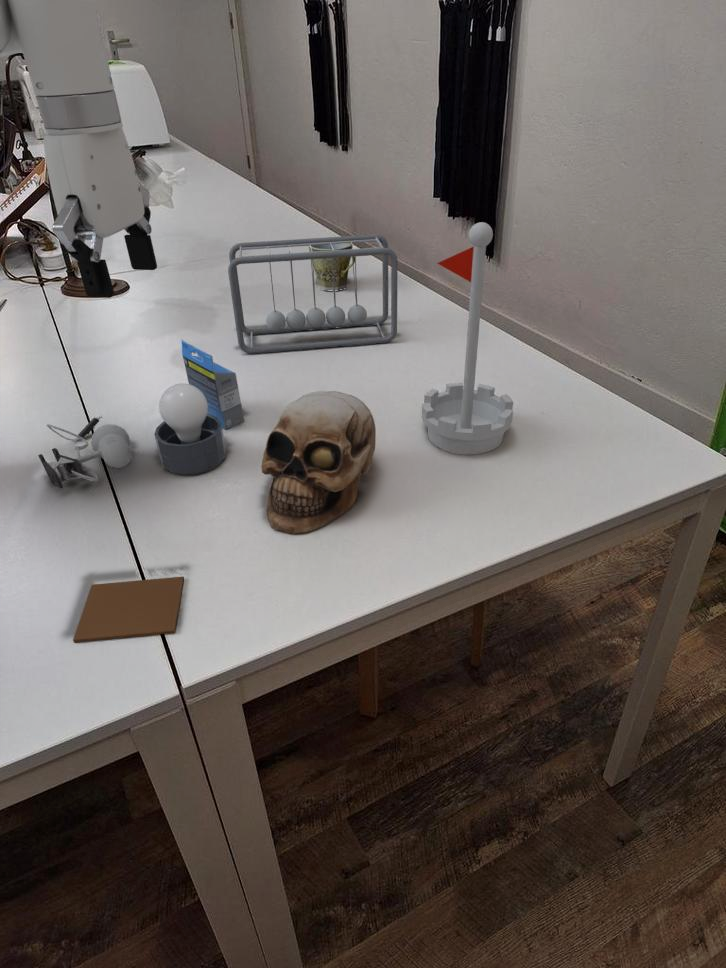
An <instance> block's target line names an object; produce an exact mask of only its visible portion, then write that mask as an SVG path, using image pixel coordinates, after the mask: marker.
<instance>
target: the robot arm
mask: <svg viewBox="0 0 726 968" xmlns="http://www.w3.org/2000/svg"><path fill="white" fill-rule="evenodd" d="M100 24H101V23H100V20H99V15H98V11H97V6H96V2H95V0H0V58H2V57H8V56H11V55H16V54H19V53H22V54H23V58H24V62H25V65H26V69H27V72H28V75H29V76H28V77H29V79H30V83H31V87H32V90H33V92H34V96H35V100H36V104H37V106H38V110H39V114H40V117H41V120H42V124H43V127H44V132H45V134H44V135H43V149H44V156H45V157H44V158H45V163H46V169H47V175H48V180H49V184H50V185H49V186H50V189H51V193H52V198H53V200H54V206H55V210H56V213H57V215H56V218H55V220H54V221H53V223H52V227H51V228H52V229H51V230H52V232H53V233H54V235H55V236H56V238H57V239H58V241H59V242H60V244H61V245H62V248H63V251H64V252H66V253H67V254H69V256H70V258H71V260H72V261H73V262H75V263H76V264H77V268H78V271H79V275H80V279H81V281H82V285H83V288H84V292H85V294H86V296H88V297H89V298H101V299H103V298H104V299H107V298H108V299H110V298H112V297H114V296H115V290H114V287H113V283H112V279H111V275H110V271H109V268H108V264H107V261H106V259H101V257H102V252H103V251H102V249H103V245H104V239H106V238H108V237H111V236H113V235H115V234H118V233H119V232H121V231H123V230H124V231H125V232H126V233H127V234H124V235H123V238H124V243H125V246H126V250H127V253H128V257H129V263H130V266H131V269H132V270H136V271H155V270H157V269H158V264H157V258H156V254H155V249H154V245H153V242H152V237H151V236H152V235H151V234H152V232H153V231H152V225H151V223H150V220H151V215H152V214H151V212H152V211H151V209H150V190H149V189H148V188H147V187H145V186H143V185H141V184H140V181H139V176H138V173H137V169H136V165H135V162H134V158H133V156H132V153H131V149H130V146H129V143H128V140H127V137H126V134H125V131H124V129H123V127H124V126H123V121H122V117H121V111H120V107H119V103H118V99H117V95H116V91H115V85H114V81H113V77H112V73H111V68H110V64H109V59H108V54H107V51H106V47H105V42H104V38H103V33H102V29H101V25H100ZM85 241H90V246H89V245H87V244H86V243H85Z"/></svg>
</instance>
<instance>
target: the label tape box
mask: <svg viewBox="0 0 726 968" xmlns="http://www.w3.org/2000/svg"><path fill="white" fill-rule="evenodd" d="M180 342H181V355H182V359H183V363H184V368H185V373H186V376H187V381H188V384H190V385H193V386H195V387H197V388H198V389H199V390H200V391H201V392H202V393H203V394H204V396H205V397H206V400H207V403H208V413H207V414H210V415H212V416H215V417H217V418H218V419H219V421H220V422H221V423H222V429H224V430H228V429H230V428H232V427H235V426H237V425H239V424H241V423H242V422H244V421H245V417H244V411H243V407H242V401H241V396H240V390H239V385H238V379H237V374H236V372H234V371H232V370H230V369H228V368H226V367H224V366H223V365H220V364H218V363H216V362H214V359H213V355H211V354H209V353H207V352H205V351H204V350H202V349H200V348H199V347H196V346H194V345H193V344H191V343H189V342H187V341H186V340H183V339H182V338H181V341H180ZM193 354H194V355H193Z"/></svg>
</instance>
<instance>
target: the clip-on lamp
mask: <svg viewBox="0 0 726 968" xmlns="http://www.w3.org/2000/svg"><path fill="white" fill-rule="evenodd" d="M100 419H103V415H99V416H96V417H93V418H92V419H91V420H90V421H89V422H88V424H86V425H85V426H84V428H83V429H82V430H80V432H78V434H76V433H74V432H72V431H69V430H66V429H64V428H61V427H59V426H56V425H53V424H49V423H47V424H46V427H47V428H48V429H49V430H51V431H52V432H53V433H55V434H56V435H58V436H59V437H61V438H63V439H65V440H67V441H72V442H76V441H79V440H81V441H83V442H85V444H83V445H79V446H78V445H75V446H74V449H75V450H76V452H77V455H78V456H77V457H74V458H73V457H69V456H66V455H63V454H60V451H59V450H58V448H57V447H53V448H51V452H52V454H53V456H54V459H55V462H48V461H46V459H45V457H44V455H43V454H42V453H40V454H37V456H38V458H39V461H40V463H41V464H42V467H43V468H44V471H45V473H46V475H47V477H48V479H49V482H50V483H51V484H53V485H56V486H57V488H58V489H59V490H61V489H63V488H64V486H63V485H64V484H65V483H66V482H67V481H69V480H70V481H71V480H77V479H83V480H87V481H91V482H98V480H99V476H98V475H97V474H96V473H95V472H94V471H93V470H91V469H90V468H85V469H84V468H83V463H86V462H89V461H91V460H94V459H98V458H100V459H102V460H104V462H105V463H106V465H108V466H109V467H111V468H116V469H120V468H124V467H126V466H127V465H128V464H129V463H130V461H131V460H132V456H133V453H132V450H131V448H130V446H131V440H130V435H129V434H128V432H127V431H126V430H125V429H124V428H123V427H122V426H120V425H117V424H115V423H114V424H112V423H107V424H103V425H101V426H99V427H98V428H96V429H95V427H96V425H98V423H99V422H100ZM93 429H95V430H94V432H93V434H92V436H91V440H90V444H91V448H92V450H93V451H91V452H88V453H86V454H82V455H81V452H80V451H81V450H84V449H86V448H88V446H89V442H88V441H87V439H85V437H86V436H88V435H90V433H91V431H93ZM56 430H58V431H61V432H64V433H66V434H69V435H71V436H73V437H76V438H69V437H66V436H64V435H62V434H60V432H57V431H56ZM56 470H57V471H58V473H59V475H58V473H57V471H56ZM87 473H88V474H90V475H91V476H88V475H86V474H87ZM59 476H60V477H59Z"/></svg>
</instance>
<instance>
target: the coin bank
mask: <svg viewBox="0 0 726 968" xmlns="http://www.w3.org/2000/svg"><path fill="white" fill-rule="evenodd" d="M376 431H377V430H376V423H375V419H374V416H373V414H372V412H371V410H370V408H369V407H368V406H367V405H366V404H365V402H364V401H363V400H361V399H360V398H358V397H356V396H354V395H352V394H348V393H345V392H341V391H336V390H318V391H312V392H309V393H306V394H304V395H302V396H300V397H299V398H297V399H295V400H293V401H291V402H290V403H289V404H288V405H287V406H286V407H285V408H284V409H283V411H282V412H281V414H280V417H279V420H278V422H277V424H276V425H275V426H274V428H273V429H272V431H271V432H270V433H269V435H268V437H267V440H266V444H265V449H264V452H263V456H262V460H261V465H260V469H261V473H262V474H263V475H271V476H272V481H271V485H270V487H269V492H268V497H267V504H266V505H267V507H266V517H267V520H268V521H269V524H270V526H271V528H272V529H273V530H274V531H280V532H283V533H287V534H291V535H292V534H293V535H294V534H299V533H309V532H313V531H315V530H317V529H319V528H321V527H323V526H325V525H327V524H328V523H329V522H331V521H333V520H335V519H338V518H339V517H340V516H341V515H342V514H344V513H345V512H348V511H350V509H352V508H353V506H354V504H355V502H356V499H357V495H358V491H359V490H358V489H359V485H360V480H361V476H362V475H366V474H367V473H368V472H369V470H370V468H371V466H372V463H373V458H374V453H375V450H376V438H377V437H376V435H377V434H376Z"/></svg>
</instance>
